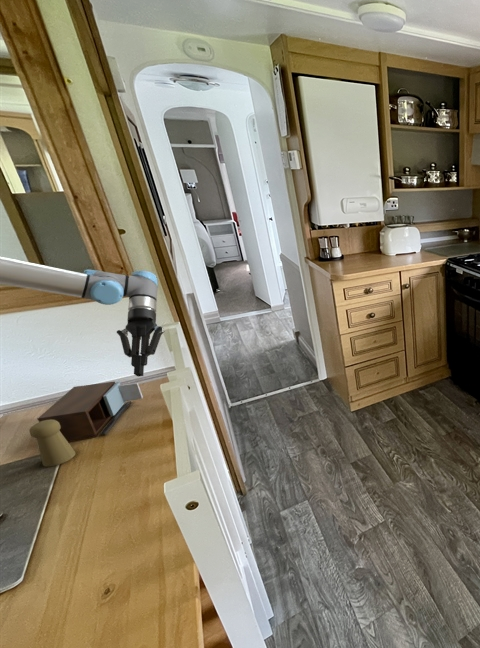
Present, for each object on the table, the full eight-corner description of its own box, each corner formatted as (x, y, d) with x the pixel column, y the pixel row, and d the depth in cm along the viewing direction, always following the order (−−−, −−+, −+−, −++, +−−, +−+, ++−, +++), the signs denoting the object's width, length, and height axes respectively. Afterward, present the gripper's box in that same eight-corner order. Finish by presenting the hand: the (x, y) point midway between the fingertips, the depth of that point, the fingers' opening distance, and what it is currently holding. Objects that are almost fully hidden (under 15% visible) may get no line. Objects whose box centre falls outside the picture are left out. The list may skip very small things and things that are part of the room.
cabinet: (49, 444, 102) (37, 418, 99) (84, 410, 118) (73, 386, 115) (105, 435, 107) (95, 409, 103) (131, 403, 122) (123, 380, 119)
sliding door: (110, 416, 113) (102, 396, 111) (123, 401, 121) (116, 382, 119) (133, 412, 115) (126, 393, 113) (144, 398, 123) (138, 379, 121)
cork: (36, 464, 95) (17, 428, 91) (64, 449, 101) (48, 414, 97) (53, 468, 94) (35, 432, 90) (81, 453, 100) (66, 418, 95)
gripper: (169, 314, 138) (167, 375, 129) (125, 318, 133) (120, 381, 125) (160, 305, 131) (157, 368, 123) (113, 308, 127) (107, 374, 118)
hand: (138, 374), depth 124 cm, fingers closed
